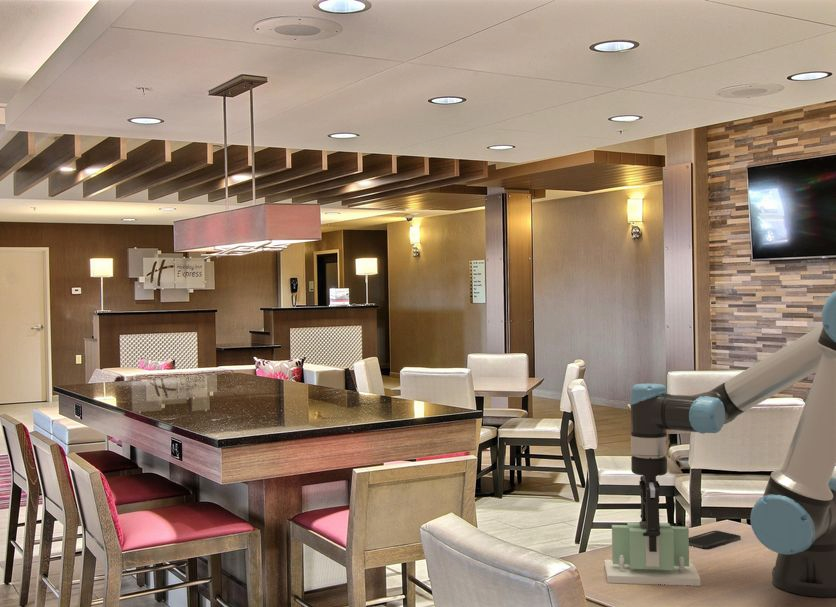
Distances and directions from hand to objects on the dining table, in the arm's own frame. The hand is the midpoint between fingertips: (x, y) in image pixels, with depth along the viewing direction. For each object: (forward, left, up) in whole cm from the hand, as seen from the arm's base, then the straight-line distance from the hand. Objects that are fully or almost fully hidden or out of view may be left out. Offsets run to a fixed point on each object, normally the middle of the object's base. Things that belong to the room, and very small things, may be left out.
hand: (650, 559), depth 192 cm
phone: (+17, -30, -4) cm, 35 cm away
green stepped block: (0, 0, -1) cm, 1 cm away
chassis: (0, 0, -3) cm, 3 cm away
